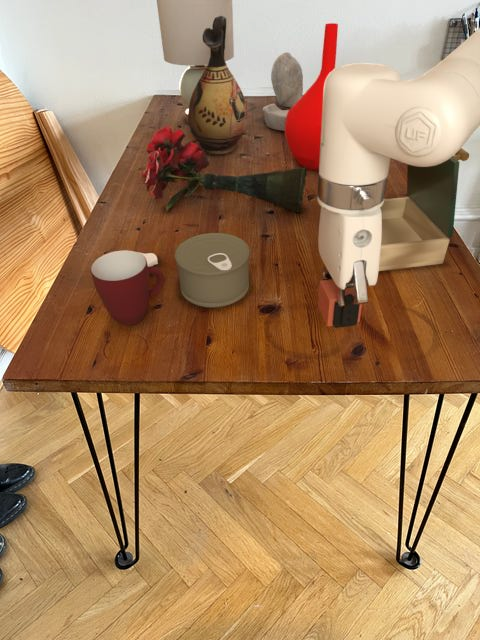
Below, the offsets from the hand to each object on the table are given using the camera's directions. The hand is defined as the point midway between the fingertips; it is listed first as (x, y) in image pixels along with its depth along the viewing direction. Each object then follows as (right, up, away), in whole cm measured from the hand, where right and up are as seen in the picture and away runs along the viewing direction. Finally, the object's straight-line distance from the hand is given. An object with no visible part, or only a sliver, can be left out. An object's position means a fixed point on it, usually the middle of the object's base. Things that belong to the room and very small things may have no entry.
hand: (338, 312), depth 66 cm
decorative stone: (+2, +69, +91) cm, 114 cm away
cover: (+19, +23, +17) cm, 34 cm away
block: (0, 0, 0) cm, 0 cm away
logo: (-32, +8, +20) cm, 39 cm away
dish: (+1, +56, +75) cm, 94 cm away
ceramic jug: (-19, +46, +64) cm, 81 cm away
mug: (-30, 0, +10) cm, 32 cm away
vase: (+7, +38, +54) cm, 66 cm away
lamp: (-25, +61, +82) cm, 105 cm away
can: (-18, +4, +16) cm, 24 cm away
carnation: (-17, +25, +40) cm, 50 cm away
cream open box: (+15, +13, +24) cm, 31 cm away
